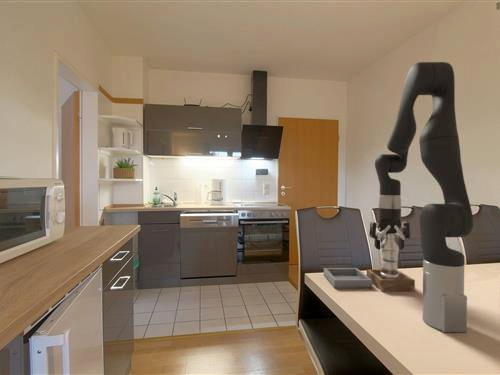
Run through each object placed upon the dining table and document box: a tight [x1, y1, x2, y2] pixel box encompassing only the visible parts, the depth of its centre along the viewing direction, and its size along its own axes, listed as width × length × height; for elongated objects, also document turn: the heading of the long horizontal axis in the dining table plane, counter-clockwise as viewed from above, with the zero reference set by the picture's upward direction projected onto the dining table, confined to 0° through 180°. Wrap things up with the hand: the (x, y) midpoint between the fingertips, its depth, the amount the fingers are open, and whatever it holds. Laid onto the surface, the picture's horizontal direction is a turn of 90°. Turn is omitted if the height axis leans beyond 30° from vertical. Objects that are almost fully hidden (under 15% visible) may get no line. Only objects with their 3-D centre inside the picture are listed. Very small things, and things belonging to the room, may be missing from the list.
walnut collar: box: [366, 268, 416, 292], centre depth 102 cm, size 12×12×4 cm
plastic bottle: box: [380, 233, 400, 279], centre depth 102 cm, size 6×7×20 cm
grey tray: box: [323, 267, 373, 289], centre depth 106 cm, size 14×14×3 cm
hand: (389, 249), depth 102 cm, fingers open, 8 cm apart
